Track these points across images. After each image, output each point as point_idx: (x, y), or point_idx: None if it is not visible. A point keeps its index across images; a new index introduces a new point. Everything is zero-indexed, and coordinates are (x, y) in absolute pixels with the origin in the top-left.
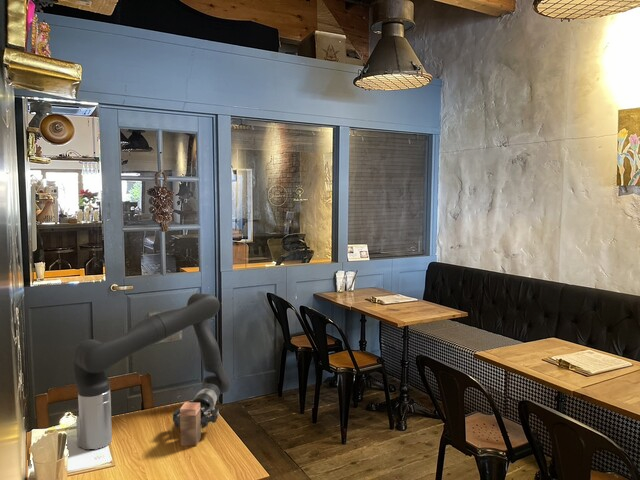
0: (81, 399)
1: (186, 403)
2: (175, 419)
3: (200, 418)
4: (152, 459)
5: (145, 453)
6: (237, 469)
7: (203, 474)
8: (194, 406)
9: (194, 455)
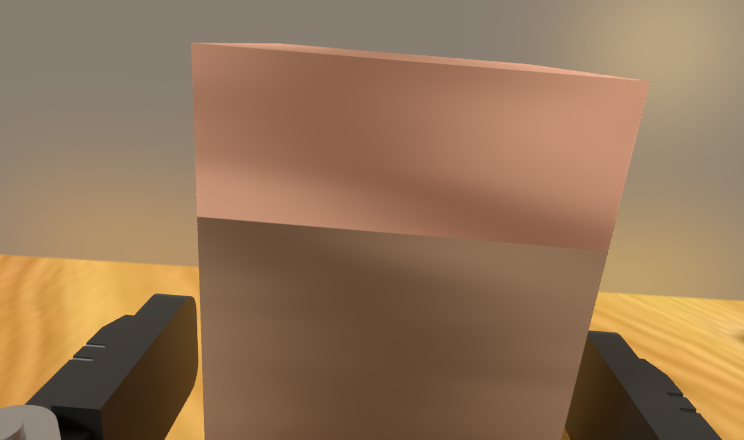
0: None
1: (554, 71)
2: (697, 413)
3: (207, 429)
4: None
5: None
6: (10, 276)
7: None
8: (318, 49)
9: None
